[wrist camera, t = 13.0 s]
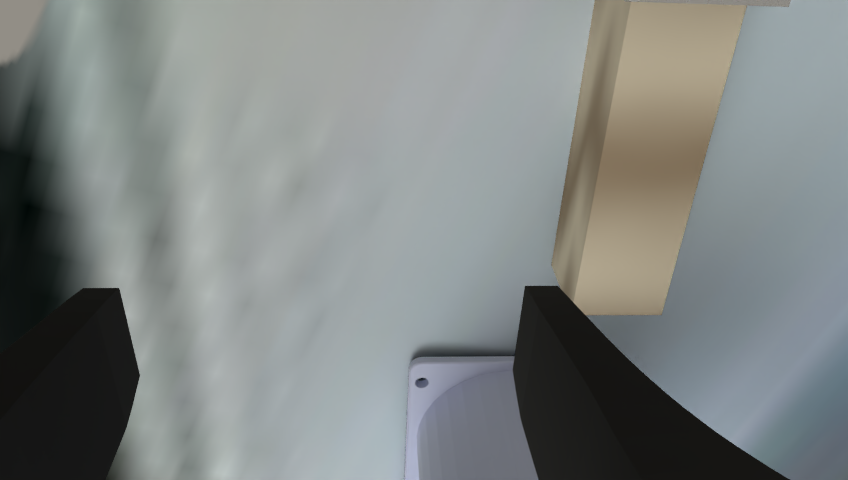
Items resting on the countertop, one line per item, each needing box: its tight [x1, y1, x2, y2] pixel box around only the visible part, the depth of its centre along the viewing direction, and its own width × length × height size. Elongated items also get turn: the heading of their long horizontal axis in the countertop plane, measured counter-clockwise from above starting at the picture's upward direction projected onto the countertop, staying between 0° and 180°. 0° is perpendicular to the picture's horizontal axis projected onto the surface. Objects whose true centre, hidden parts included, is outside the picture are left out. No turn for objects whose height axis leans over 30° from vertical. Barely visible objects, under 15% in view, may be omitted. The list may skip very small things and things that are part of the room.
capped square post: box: [551, 0, 791, 315], centre depth 20 cm, size 11×4×4 cm, turn 178°
